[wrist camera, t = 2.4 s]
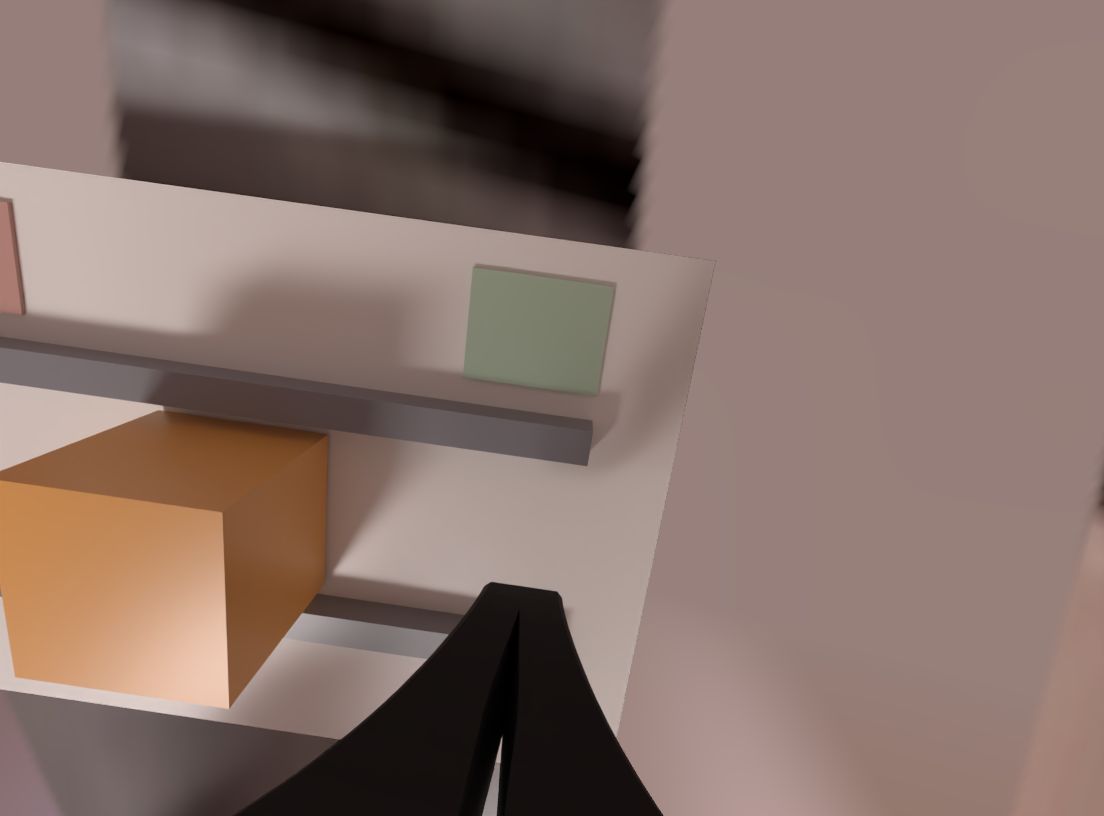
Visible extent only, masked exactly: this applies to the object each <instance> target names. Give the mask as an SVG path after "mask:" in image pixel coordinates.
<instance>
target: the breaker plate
mask: <svg viewBox="0 0 1104 816" xmlns="http://www.w3.org/2000/svg"><path fill="white" fill-rule="evenodd" d="M715 262H716V261H712V260H706V259H699V258H692V257H684V256H677V255H670V254H663V253H655V252H648V251H641V250H634V249H627V248H619V247H612V246H605V245H598V244H591V243H583V242H576V241H569V240H562V239H555V238H547V237H540V236H533V235H526V234H519V233H511V232H504V231H497V230H490V229H482V228H475V227H468V226H461V225H454V224H446V223H439V222H432V221H425V220H418V219H410V218H403V217H396V216H389V215H382V214H374V213H367V212H360V211H353V210H346V209H338V208H331V207H324V206H317V205H309V204H302V203H295V202H288V201H281V200H273V199H266V198H259V197H252V196H245V195H237V194H230V193H223V192H216V191H209V190H201V189H194V188H187V187H180V186H173V185H165V184H158V183H151V182H144V181H136V180H129V179H122V178H115V177H108V176H100V175H93V174H86V173H79V172H72V171H64V170H57V169H50V168H43V167H35V166H28V165H21V164H14V163H7V162H0V471H1V470H4V469H7V468H9V467H12V466H14V465H17V464H20V463H22V462H25V461H27V460H30V459H33V458H35V457H38V456H40V455H43V454H46V453H48V452H51V451H53V450H56V449H59V448H61V447H64V446H66V445H69V444H72V443H74V442H77V441H79V440H82V439H85V438H87V437H90V436H92V435H95V434H98V433H100V432H103V431H105V430H108V429H111V428H113V427H116V426H118V425H121V424H124V423H126V422H129V421H131V420H134V419H137V418H139V417H142V416H144V415H147V414H150V413H152V412H155V411H157V410H161V411H168V412H175V413H182V414H189V415H196V416H203V417H210V418H217V419H224V420H231V421H238V422H245V423H252V424H259V425H266V426H273V427H280V428H287V429H294V430H301V431H308V432H315V433H322V434H328V459H327V503H326V547H325V584H324V585H323V586H322V588H321V589H320V590H319V592H318V593H317V594H316V596H315V597H314V598H313V600H312V601H311V602H310V603H309V605H308V606H307V607H306V609H305V610H304V611H303V613H302V614H301V615H300V617H299V618H298V619H297V621H296V622H295V623H294V624H293V626H292V627H291V628H290V630H289V631H288V632H287V634H286V635H285V636H284V638H283V639H282V640H281V642H280V643H279V644H278V645H277V647H276V648H275V649H274V651H273V652H272V653H271V655H270V656H269V657H268V659H267V660H266V661H265V663H264V664H263V665H262V667H261V668H260V669H259V670H258V672H257V673H256V674H255V676H254V677H253V678H252V680H251V681H250V682H249V684H248V685H247V686H246V688H245V689H244V690H243V691H242V693H241V694H240V695H239V697H238V698H237V699H236V701H235V702H234V703H233V705H232V706H231V707H230V709H226V708H220V707H213V706H206V705H199V704H193V703H186V702H179V701H172V700H166V699H159V698H152V697H145V696H139V695H132V694H125V693H118V692H112V691H105V690H98V689H91V688H85V687H78V686H71V685H64V684H58V683H51V682H44V681H37V680H30V679H24V678H17V677H15V674H14V667H13V661H12V655H11V649H10V643H9V637H8V631H7V625H6V618H5V612H4V606H3V600H2V594H1V588H0V689H3V690H10V691H16V692H23V693H30V694H37V695H43V696H50V697H57V698H63V699H70V700H77V701H84V702H90V703H97V704H104V705H111V706H117V707H124V708H131V709H138V710H144V711H151V712H158V713H165V714H171V715H178V716H185V717H192V718H198V719H205V720H212V721H219V722H225V723H232V724H239V725H245V726H252V727H259V728H266V729H272V730H279V731H286V732H293V733H299V734H306V735H313V736H320V737H326V738H333V739H342V738H343V737H344V736H346V735H347V734H348V733H349V732H351V731H352V730H353V729H354V728H355V727H357V726H358V725H359V724H360V723H361V722H362V721H364V720H365V719H366V718H367V717H368V716H369V715H370V714H372V713H373V712H374V711H375V710H376V709H377V708H378V707H380V706H381V705H382V704H383V703H384V702H385V701H386V700H387V699H388V698H389V697H390V696H391V695H392V694H394V693H395V692H396V691H397V690H398V689H399V688H400V687H401V686H402V685H403V684H404V683H405V682H406V681H407V680H408V679H409V678H410V677H411V676H412V675H413V673H414V672H415V671H416V670H417V669H418V668H419V667H420V666H421V665H422V664H423V663H424V662H425V661H426V660H427V659H428V658H429V657H430V656H431V655H432V654H433V653H434V651H435V650H436V649H437V648H438V647H439V646H440V644H441V643H442V642H443V641H444V640H445V639H446V637H447V636H448V635H449V634H450V633H451V632H452V630H453V629H454V628H455V627H456V626H457V624H458V623H459V622H460V620H461V619H462V618H463V617H464V615H465V614H466V613H467V611H468V610H469V609H470V607H471V606H472V605H473V603H474V602H475V600H476V599H477V597H478V596H479V594H480V592H481V591H482V589H483V587H484V586H485V585H487V584H488V583H490V582H497V583H503V584H510V585H517V586H524V587H531V588H537V589H544V590H551V591H557V592H558V593H559V594H560V596H561V597H562V601H563V607H564V612H565V616H566V620H567V623H568V627H569V630H570V633H571V636H572V639H573V642H574V645H575V648H576V651H577V653H578V656H579V658H580V661H581V663H582V666H583V668H584V671H585V673H586V676H587V678H588V681H589V683H590V685H591V688H592V690H593V692H594V694H595V697H596V699H597V701H598V703H599V705H600V707H601V709H602V711H603V713H604V715H605V717H606V719H607V721H608V723H609V725H610V727H611V729H612V731H613V733H614V735H615V737H616V738H617V733H618V728H619V723H620V718H621V713H622V709H623V704H624V699H625V694H626V690H627V685H628V680H629V675H630V670H631V665H632V661H633V656H634V651H635V646H636V642H637V637H638V632H639V627H640V622H641V618H642V612H643V608H644V603H645V598H646V593H647V588H648V584H649V579H650V574H651V570H652V564H653V560H654V555H655V550H656V545H657V541H658V536H659V531H660V526H661V521H662V516H663V512H664V507H665V502H666V497H667V493H668V488H669V483H670V478H671V473H672V469H673V464H674V459H675V454H676V449H677V444H678V440H679V435H680V430H681V425H682V420H683V416H684V411H685V406H686V401H687V397H688V391H689V387H690V382H691V377H692V373H693V368H694V363H695V358H696V353H697V348H698V344H699V339H700V334H701V329H702V324H703V319H704V314H705V310H706V305H707V300H708V295H709V290H710V286H711V281H712V276H713V272H714V267H715ZM501 748H502V739H501V743H500V746H499V750H498V754H497V758H496V762H495V763H500V762H501Z"/></svg>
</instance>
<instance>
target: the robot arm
mask: <svg viewBox="0 0 1104 816" xmlns="http://www.w3.org/2000/svg"><path fill="white" fill-rule="evenodd" d="M501 739H502V748H501V762H500V777H499V792H498V807H497V816H663V814H662V813H661V811H660V810H659V808H658V807H657V805H656V804H655V802H654V800H653V799H652V797H651V796H650V794H649V793H648V791H647V790H646V788H645V787H644V785H643V784H642V782H641V780H640V779H639V777H638V775H637V774H636V772H635V770H634V769H633V767H632V765H631V763H630V762H629V760H628V758H627V757H626V755H625V753H624V752H623V750H622V748H621V746H620V744H619V742H618V741H617V739H616V737H615V735H614V733H613V731H612V729H611V727H610V725H609V723H608V721H607V719H606V717H605V715H604V713H603V711H602V709H601V707H600V705H599V703H598V701H597V699H596V697H595V694H594V692H593V690H592V688H591V685H590V683H589V681H588V678H587V676H586V673H585V671H584V668H583V666H582V663H581V661H580V658H579V656H578V653H577V651H576V648H575V645H574V642H573V639H572V636H571V633H570V630H569V627H568V623H567V620H566V616H565V612H564V607H563V601H562V597H561V596H560V594H559V593H558V592H557V591H551V590H544V589H537V588H531V587H524V586H517V585H510V584H503V583H497V582H490V583H488V584H487V585H485V586H484V587H483V589H482V591H481V592H480V594H479V596H478V597H477V599H476V600H475V602H474V603H473V605H472V606H471V607H470V609H469V610H468V611H467V613H466V614H465V615H464V617H463V618H462V619H461V620H460V622H459V623H458V624H457V626H456V627H455V628H454V629H453V630H452V632H451V633H450V634H449V635H448V636H447V637H446V639H445V640H444V641H443V642H442V643H441V644H440V646H439V647H438V648H437V649H436V650H435V651H434V653H433V654H432V655H431V656H430V657H429V658H428V659H427V660H426V661H425V662H424V663H423V664H422V665H421V666H420V667H419V668H418V669H417V670H416V671H415V672H414V673H413V675H412V676H411V677H410V678H409V679H408V680H407V681H406V682H405V683H404V684H403V685H402V686H401V687H400V688H399V689H398V690H397V691H396V692H395V693H394V694H392V695H391V696H390V697H389V698H388V699H387V700H386V701H385V702H384V703H383V704H382V705H381V706H380V707H378V708H377V709H376V710H375V711H374V712H373V713H372V714H370V715H369V716H368V717H367V718H366V719H365V720H364V721H362V722H361V723H360V724H359V725H358V726H357V727H355V728H354V729H353V730H352V731H351V732H349V733H348V734H347V735H346V736H344V737H343V738H342V739H340V740H339V741H338V742H337V743H335V744H334V745H333V746H331V747H330V748H329V749H328V750H326V751H325V752H324V753H323V754H321V755H320V756H319V757H317V758H316V759H315V760H314V761H312V762H311V763H310V764H308V765H307V766H305V767H304V768H303V769H301V770H300V771H299V772H297V773H296V774H294V775H293V776H292V777H290V778H289V779H287V780H286V781H285V782H283V783H282V784H280V785H279V786H277V787H276V788H274V789H272V790H271V791H269V792H268V793H266V794H265V795H263V796H262V797H260V798H259V799H257V800H256V801H254V802H253V803H251V804H250V805H248V806H247V807H245V808H244V809H242V810H241V811H239V812H238V813H236V814H235V815H233V816H482V813H483V809H484V805H485V801H486V798H487V794H488V790H489V786H490V782H491V778H492V774H493V770H494V766H495V762H496V758H497V754H498V750H499V746H500V743H501Z"/></svg>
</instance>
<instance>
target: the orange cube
mask: <svg viewBox="0 0 1104 816" xmlns="http://www.w3.org/2000/svg"><path fill="white" fill-rule="evenodd" d="M327 459H328V434H322V433H315V432H308V431H301V430H294V429H287V428H280V427H273V426H266V425H259V424H252V423H245V422H238V421H231V420H224V419H217V418H210V417H203V416H196V415H189V414H182V413H175V412H168V411H161V410H157V411H155V412H152V413H150V414H147V415H144V416H142V417H139V418H137V419H134V420H131V421H129V422H126V423H124V424H121V425H118V426H116V427H113V428H111V429H108V430H105V431H103V432H100V433H98V434H95V435H92V436H90V437H87V438H85V439H82V440H79V441H77V442H74V443H72V444H69V445H66V446H64V447H61V448H59V449H56V450H53V451H51V452H48V453H46V454H43V455H40V456H38V457H35V458H33V459H30V460H27V461H25V462H22V463H20V464H17V465H14V466H12V467H9V468H7V469H4V470H1V471H0V588H1V594H2V600H3V606H4V612H5V618H6V625H7V631H8V637H9V643H10V649H11V655H12V661H13V667H14V674H15V677H17V678H24V679H30V680H37V681H44V682H51V683H58V684H64V685H71V686H78V687H85V688H91V689H98V690H105V691H112V692H118V693H125V694H132V695H139V696H145V697H152V698H159V699H166V700H172V701H179V702H186V703H193V704H199V705H206V706H213V707H220V708H226V709H230V707H231V706H232V705H233V703H234V702H235V701H236V699H237V698H238V697H239V695H240V694H241V693H242V691H243V690H244V689H245V688H246V686H247V685H248V684H249V682H250V681H251V680H252V678H253V677H254V676H255V674H256V673H257V672H258V670H259V669H260V668H261V667H262V665H263V664H264V663H265V661H266V660H267V659H268V657H269V656H270V655H271V653H272V652H273V651H274V649H275V648H276V647H277V645H278V644H279V643H280V642H281V640H282V639H283V638H284V636H285V635H286V634H287V632H288V631H289V630H290V628H291V627H292V626H293V624H294V623H295V622H296V621H297V619H298V618H299V617H300V615H301V614H302V613H303V611H304V610H305V609H306V607H307V606H308V605H309V603H310V602H311V601H312V600H313V598H314V597H315V596H316V594H317V593H318V592H319V590H320V589H321V588H322V586H323V585H324V584H325V547H326V503H327Z"/></svg>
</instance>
